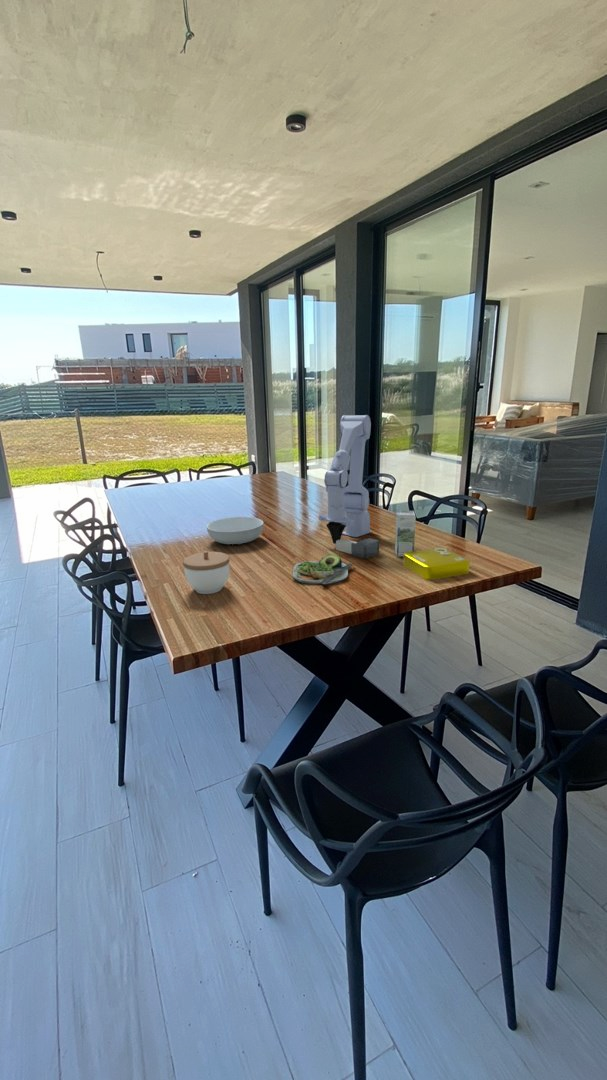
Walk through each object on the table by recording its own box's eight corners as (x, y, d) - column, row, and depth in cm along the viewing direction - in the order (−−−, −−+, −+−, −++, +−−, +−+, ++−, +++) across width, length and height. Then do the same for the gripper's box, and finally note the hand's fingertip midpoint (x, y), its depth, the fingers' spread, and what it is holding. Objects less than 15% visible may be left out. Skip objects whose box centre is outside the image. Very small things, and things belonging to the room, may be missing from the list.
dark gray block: (365, 550, 168) (365, 537, 167) (379, 553, 164) (379, 540, 163) (351, 554, 164) (351, 541, 162) (365, 558, 159) (365, 545, 158)
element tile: (400, 565, 153) (401, 551, 152) (442, 559, 158) (443, 545, 156) (427, 582, 140) (427, 566, 138) (471, 574, 144) (472, 559, 143)
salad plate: (352, 589, 135) (352, 574, 134) (288, 589, 137) (288, 573, 136) (352, 566, 154) (352, 552, 153) (295, 566, 156) (295, 552, 154)
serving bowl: (202, 538, 188) (200, 521, 186) (253, 531, 196) (252, 514, 195) (216, 553, 170) (214, 534, 168) (272, 544, 178) (271, 525, 176)
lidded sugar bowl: (211, 578, 146) (208, 542, 143) (240, 587, 139) (238, 549, 135) (176, 591, 137) (172, 553, 134) (206, 601, 129) (202, 562, 126)
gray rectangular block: (343, 548, 172) (342, 538, 171) (369, 555, 164) (369, 545, 163) (336, 550, 170) (336, 540, 169) (362, 557, 161) (362, 547, 160)
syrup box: (412, 552, 165) (413, 509, 161) (414, 557, 159) (415, 514, 155) (394, 552, 165) (395, 509, 161) (396, 557, 160) (397, 514, 156)
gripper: (312, 504, 171) (313, 541, 175) (344, 510, 161) (344, 549, 165) (326, 500, 176) (327, 537, 179) (358, 506, 166) (358, 544, 169)
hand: (336, 542), depth 172 cm, fingers closed
